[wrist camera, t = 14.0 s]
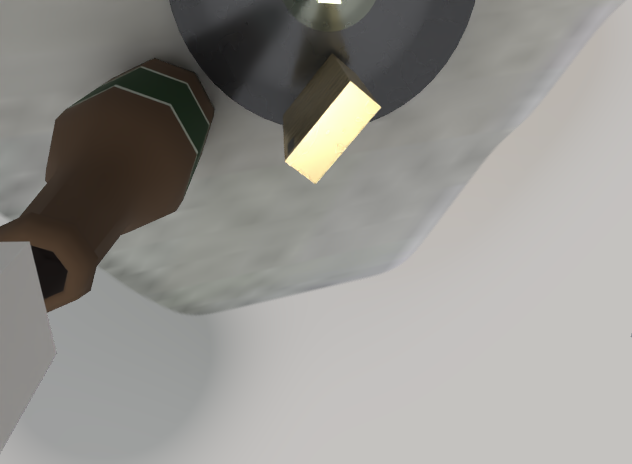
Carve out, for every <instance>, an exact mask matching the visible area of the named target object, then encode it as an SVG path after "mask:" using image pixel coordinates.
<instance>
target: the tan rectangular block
mask: <svg viewBox="0 0 632 464" xmlns="http://www.w3.org/2000/svg"><path fill="white" fill-rule="evenodd" d="M380 108H381V106H380V105H379V104H378V102H377V101H376V100H375V98H374V97H373V96H372V94H371V93H370V92H369V90H368V89H367V88H366V86H365V85H364V84H363V82H362V81H361V80H360V78H359V77H358V76H357V74H356V73H355V72H354V71H352V70H351V69H350V68H349V67H348V66H347V65H345V64H344V63H343V62H342V61H341V60H340V59H338V58H337V57H336V56H335V55H334V54H333V53H332V54H331V55H330V56H329V57H328V59H327V60H326V61H325V63H324V64H323V65H322V66H321V68H320V69H319V70H318V71H317V73H316V74H315V75H314V76H313V78H312V79H311V80H310V82H309V83H308V84H307V85H306V87H305V88H304V89H303V90H302V92H301V93H300V94H299V95H298V97H297V98H296V99H295V101H294V102H293V103H292V104H291V106H290V107H289V108H288V109H287V111H286V112H285V113H284V114H283V131H284V153H285V162H286V163H288V164H289V165H290V166H292V167H293V168H294V169H296V170H297V171H298V172H300V173H301V174H302V175H304V176H305V177H306V178H308V179H309V180H310V181H312V182H313V183H314V184H316V183H317V182H318V181H319V179H320V178H321V177H322V176H323V175H324V174H325V172H326V171H327V170H328V169H329V168H330V167H331V165H332V164H333V163H334V162H335V161H336V160H337V158H338V157H339V156H340V155H341V154H342V152H343V151H344V150H345V149H346V148H347V147H348V145H349V144H350V143H351V142H352V141H353V140H354V138H355V137H356V136H357V135H358V134H359V133H360V131H361V130H362V129H363V128H364V127H365V126H366V124H367V123H368V122H369V121H370V120H371V119H372V117H373V116H374V115H375V114H376V113H377V112H378V110H379V109H380Z"/></svg>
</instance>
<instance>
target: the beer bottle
mask: <svg viewBox="0 0 632 464" xmlns="http://www.w3.org/2000/svg"><path fill="white" fill-rule="evenodd" d="M213 116H214V108H213V106H212V104H211V102H210V100H209V98H208V97H207V95H206V93H205V91H204V89H203V87H202V85H201V83H200V81H199V80H198V78H197V76H196V74H195V73H193V72H191V71H188V70H185V69H183V68H180V67H177V66H175V65H172V64H169V63H166V62H164V61H161V60H158V59H156V58H154V59H152V60H149V61H147V62H145V63H143V64H141V65H139V66H137V67H135V68H133V69H131V70H129V71H127V72H125V73H123V74H121V75H119V76H116V77H114V78H112V79H110V80H109V81H108V82H106V83H105V84H103V85H102V86H100V87H99V88H97V89H96V90H94V91H93V92H91V93H90V94H88V95H87V96H85V97H84V98H82V99H81V100H79V101H78V102H76V103H75V104H73V105H72V106H70V107H69V108H67V109H66V110H65V111H64V112H63V113H62V114H61V115H60V116H59V117H58V118H57V119H56V120H55V125H54V131H53V136H52V141H51V146H50V152H49V157H48V162H47V167H46V177H45V181H46V182H47V184H46V185H45V187H44V188H43V189H42V190H41V191H40V193H39V194H38V195H37V196H36V198H35V199H34V200H33V201H32V202H31V204H30V205H29V206H28V207H27V209H26V210H25V211H24V212H23V213H22V215H21V216H20V217H19V218H17V219H15V220H13V221H11V222H9V223H7V224H5V225H2V226H0V242H29V241H30V245H31V249H32V254H33V258H34V262H35V266H36V270H37V274H38V278H39V282H40V286H41V290H42V295H43V299H44V303H45V307H46V311H47V312H49V311H52V310H54V309H56V308H59V307H61V306H63V305H66V304H68V303H70V302H73V301H75V300H77V299H79V298H80V297H81V296H83V295H85V294H86V293H88V292H89V291H91V287H92V283H93V279H94V274H95V271H96V267H97V265H98V264H99V263H100V261H101V260H102V259H103V257H104V256H105V255H106V254H107V252H108V251H109V250H110V248H111V247H112V246H113V244H114V243H115V242H116V240H117V239H118V238H119V237H120V235H122V234H125V233H128V232H130V231H132V230H135V229H137V228H139V227H141V226H144V225H146V224H148V223H150V222H153V221H155V220H157V219H159V218H162V217H164V216H166V215H168V214H171V213H173V212H175V211H176V210H177V209H178V207H179V205H180V204H181V202H182V201H183V199H184V196H185V194H186V191H187V189H188V186H189V184H190V181H191V179H192V176H193V174H194V171H195V169H196V167H197V164H198V162H199V159H200V157H201V154H202V151H203V148H204V145H205V141H206V138H207V135H208V132H209V129H210V125H211V122H212V119H213Z"/></svg>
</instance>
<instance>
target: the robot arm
mask: <svg viewBox="0 0 632 464" xmlns="http://www.w3.org/2000/svg"><path fill="white" fill-rule="evenodd" d="M631 337H632V335H631ZM56 354H57V352H56V348H55V344H54V340H53V336H52V331H51V327H50V324H49V319H48V315H47V311H46V307H45V303H44V299H43V295H42V290H41V286H40V282H39V278H38V274H37V270H36V266H35V262H34V258H33V254H32V249H31V245H30V241H29V242H0V453H1V451H2V449H3V448H4V446H5V444H6V442H7V441H8V439H9V437H10V435H11V434H12V432H13V430H14V428H15V426H16V425H17V423H18V421H19V419H20V418H21V416H22V414H23V412H24V411H25V409H26V407H27V405H28V404H29V402H30V400H31V398H32V396H33V394H34V393H35V391H36V389H37V388H38V386H39V384H40V382H41V381H42V379H43V377H44V375H45V374H46V372H47V370H48V368H49V366H50V365H51V363H52V361H53V359H54V357H55V356H56Z"/></svg>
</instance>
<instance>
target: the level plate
mask: <svg viewBox="0 0 632 464" xmlns="http://www.w3.org/2000/svg"><path fill="white" fill-rule="evenodd" d="M169 1H170V5H171V9H172V12H173V15H174V18H175V20H176V23H177V26H178V28H179V31H180V33H181V35H182V37H183V39H184V41H185V43H186V45H187V47H188V49H189V51H190V52H191V54H192V55H193V57H194V58H195V60H196V61H197V63H198V64H199V66H200V67H201V69H202V70H203V71H204V72H205V73H206V74H207V76H208V77H209V78H210V79H211V80H212V81H213V82H214V84H215V85H216V86H218V87H219V88H220V89H221V90H222V91H223V92H224V93H225V94H226V95H228V96H229V97H230V98H231V99H233V100H234V101H235V102H237V103H238V104H240V105H241V106H243V107H244V108H245V109H247V110H249V111H251V112H253V113H255V114H257V115H259V116H261V117H263V118H265V119H268V120H271V121H273V122H276V123H279V124H282V125H283V114H284V113H285V112H286V111H287V109H288V108H289V107H290V106H291V104H292V103H293V102H294V101H295V99H296V98H297V97H298V95H299V94H300V93H301V92H302V90H303V89H304V88H305V87H306V85H307V84H308V83H309V82H310V80H311V79H312V78H313V76H314V75H315V74H316V73H317V71H318V70H319V69H320V68H321V66H322V65H323V64H324V63H325V61H326V60H327V59H328V57H329V56H330V55H331V54H332V53H333V54H334V55H335V56H336V57H337V58H338V59H340V60H341V61H342V62H343V63H344V64H345V65H347V66H348V67H349V68H350V69H351V70H352V71H354V72H355V73H356V74H357V76H358V77H359V78H360V80H361V81H362V82H363V84H364V85H365V86H366V88H367V89H368V90H369V92H370V93H371V94H372V96H373V97H374V98H375V100H376V101H377V102H378V104H379V105H380V106H381V108H380V109H379V110H378V112H377V113H376V114H375V115H374V116H373V117H372V119H371V120H370V121H369V122H371V121H373V120H375V119H378V118H380V117H382V116H385V115H387V114H389V113H390V112H392V111H394V110H396V109H397V108H399V107H401V106H402V105H404V104H405V103H407V102H408V101H409V100H411V99H412V98H413V97H414V96H416V95H417V94H418V93H420V92H421V91H422V90H423V89H424V88H425V87H426V86H427V85H428V84H429V83H430V82H431V81H432V80H433V79H434V78H435V76H436V75H437V74H438V73H439V72H440V70H441V69H442V68H443V67H444V65H445V64H446V63H447V61H448V60H449V58H450V56H451V55H452V53H453V52H454V50H455V49H456V47H457V45H458V43H459V41H460V39H461V37H462V35H463V33H464V31H465V29H466V27H467V24H468V21H469V18H470V15H471V13H472V10H473V7H474V3H475V0H169Z"/></svg>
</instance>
